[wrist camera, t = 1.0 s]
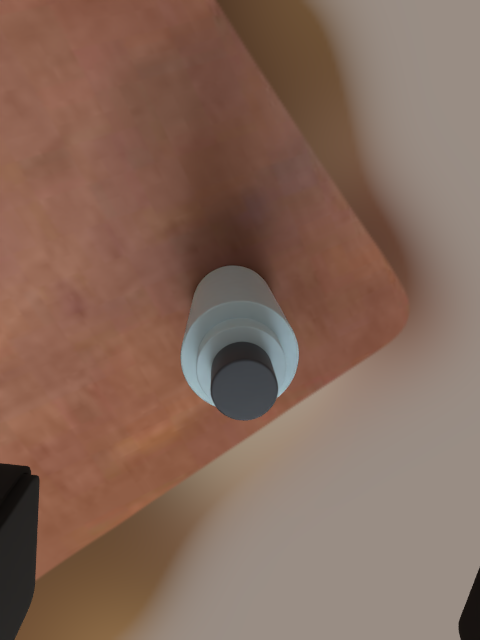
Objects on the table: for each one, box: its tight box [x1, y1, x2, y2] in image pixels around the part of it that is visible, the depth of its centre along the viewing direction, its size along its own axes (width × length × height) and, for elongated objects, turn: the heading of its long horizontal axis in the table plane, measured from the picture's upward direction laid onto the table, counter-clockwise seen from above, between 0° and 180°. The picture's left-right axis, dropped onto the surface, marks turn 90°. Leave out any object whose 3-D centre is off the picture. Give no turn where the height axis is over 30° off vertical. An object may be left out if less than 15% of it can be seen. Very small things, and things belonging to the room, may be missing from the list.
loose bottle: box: [181, 266, 299, 420], centre depth 21 cm, size 5×5×12 cm
